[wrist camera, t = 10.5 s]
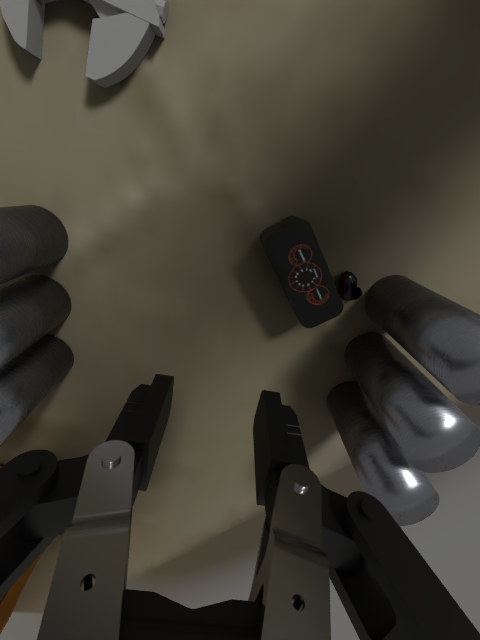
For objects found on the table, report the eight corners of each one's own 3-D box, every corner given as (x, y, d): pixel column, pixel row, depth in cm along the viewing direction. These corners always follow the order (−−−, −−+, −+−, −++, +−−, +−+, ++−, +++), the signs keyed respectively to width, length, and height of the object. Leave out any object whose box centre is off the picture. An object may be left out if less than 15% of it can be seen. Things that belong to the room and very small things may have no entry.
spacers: (5, 199, 18) (-193, 208, 10) (424, 280, 20) (554, 342, 12) (26, 371, 23) (-91, 473, 15) (360, 418, 25) (421, 528, 17)
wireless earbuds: (299, 320, 22) (309, 341, 19) (255, 232, 19) (259, 240, 16) (359, 292, 21) (379, 309, 18) (322, 196, 18) (339, 197, 15)
